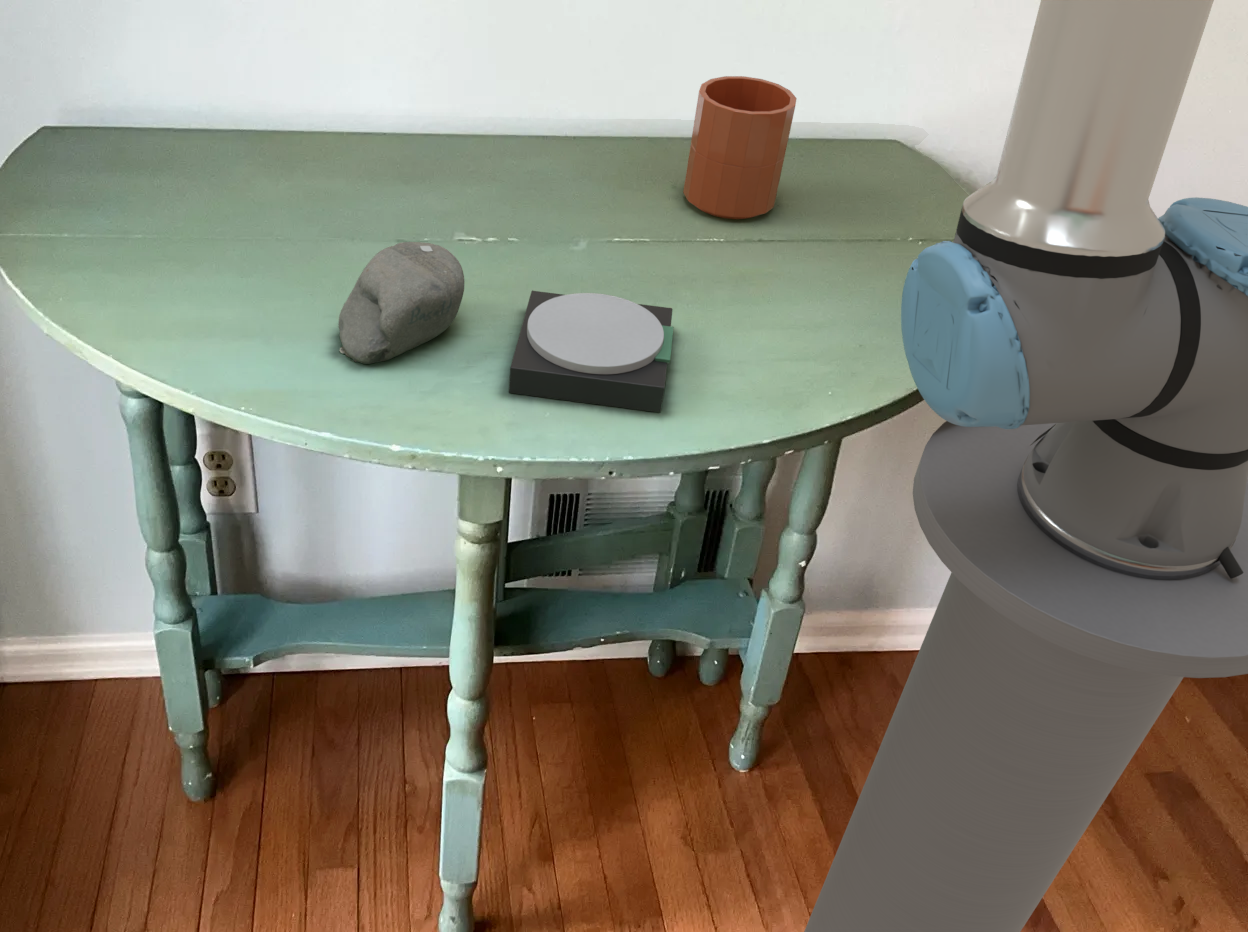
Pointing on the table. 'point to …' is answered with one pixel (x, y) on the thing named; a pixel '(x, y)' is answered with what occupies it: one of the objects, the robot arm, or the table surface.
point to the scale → (593, 350)
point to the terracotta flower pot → (738, 146)
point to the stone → (400, 301)
